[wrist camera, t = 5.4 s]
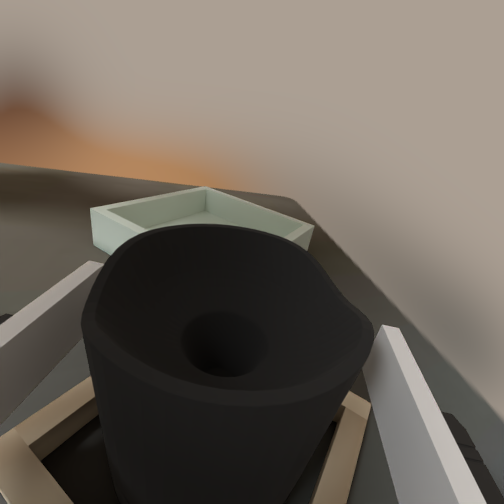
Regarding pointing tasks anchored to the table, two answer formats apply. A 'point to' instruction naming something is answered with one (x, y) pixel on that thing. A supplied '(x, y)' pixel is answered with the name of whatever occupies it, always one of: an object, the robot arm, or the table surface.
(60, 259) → the table surface
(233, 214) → the bin
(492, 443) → the table surface
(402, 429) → the robot arm
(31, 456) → the square wooden frame
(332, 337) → the pen holder
